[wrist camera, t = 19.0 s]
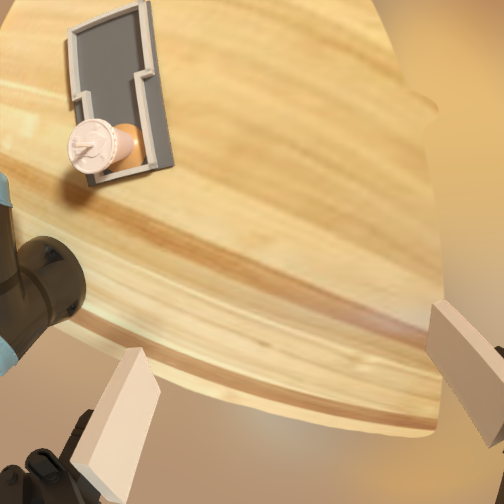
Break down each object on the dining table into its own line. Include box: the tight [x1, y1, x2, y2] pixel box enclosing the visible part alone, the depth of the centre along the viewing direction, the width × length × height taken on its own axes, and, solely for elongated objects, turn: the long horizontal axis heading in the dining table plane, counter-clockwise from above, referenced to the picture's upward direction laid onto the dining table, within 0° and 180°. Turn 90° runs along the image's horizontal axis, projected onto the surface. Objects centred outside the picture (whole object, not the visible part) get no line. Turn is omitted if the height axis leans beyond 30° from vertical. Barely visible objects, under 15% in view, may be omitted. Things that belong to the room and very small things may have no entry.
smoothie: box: [68, 119, 134, 174], centre depth 33 cm, size 6×6×14 cm
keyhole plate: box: [67, 0, 175, 187], centre depth 36 cm, size 14×26×2 cm, turn 9°
